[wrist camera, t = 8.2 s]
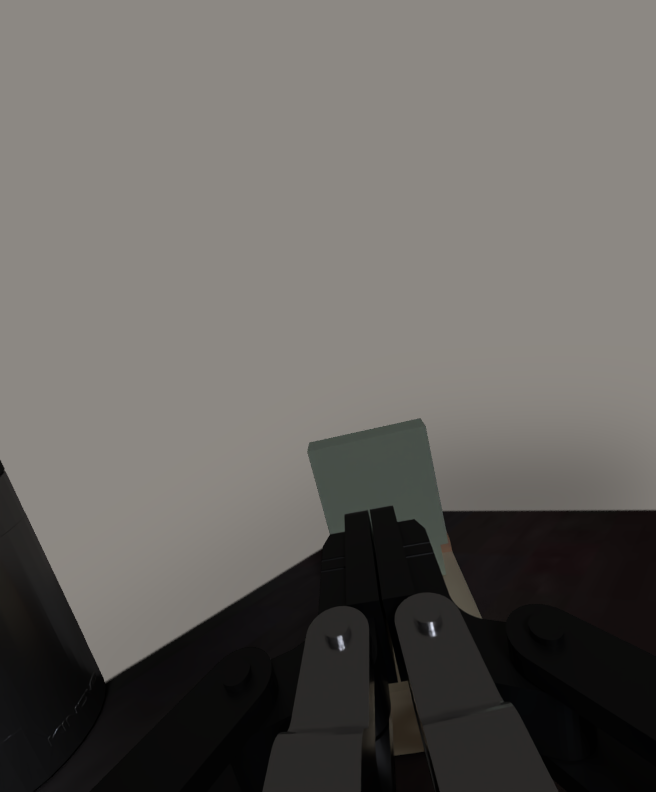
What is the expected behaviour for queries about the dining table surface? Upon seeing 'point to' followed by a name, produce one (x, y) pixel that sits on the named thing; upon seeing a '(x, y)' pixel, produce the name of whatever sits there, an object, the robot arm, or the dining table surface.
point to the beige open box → (400, 696)
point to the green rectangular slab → (380, 478)
